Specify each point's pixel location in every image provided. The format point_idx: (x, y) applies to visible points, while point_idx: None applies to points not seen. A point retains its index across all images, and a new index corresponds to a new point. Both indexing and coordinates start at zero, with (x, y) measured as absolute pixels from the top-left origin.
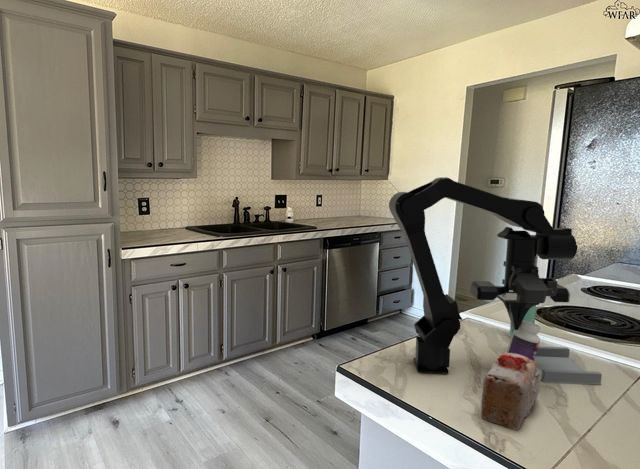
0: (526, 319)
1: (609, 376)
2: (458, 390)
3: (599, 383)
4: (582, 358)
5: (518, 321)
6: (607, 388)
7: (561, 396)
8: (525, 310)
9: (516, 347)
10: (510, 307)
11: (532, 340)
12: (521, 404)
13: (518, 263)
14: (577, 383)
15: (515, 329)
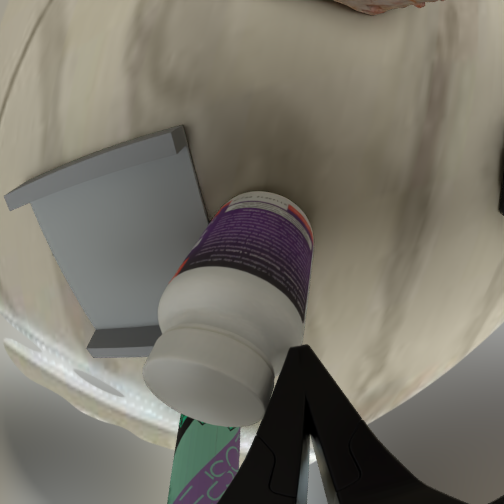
0: (198, 453)
1: (13, 246)
2: (489, 21)
3: (25, 182)
4: (70, 333)
5: (299, 395)
6: (14, 165)
7: (145, 30)
8: (253, 491)
9: (290, 251)
10: (425, 486)
11: (202, 275)
12: None
13: None
14: (75, 160)
15: (306, 345)
